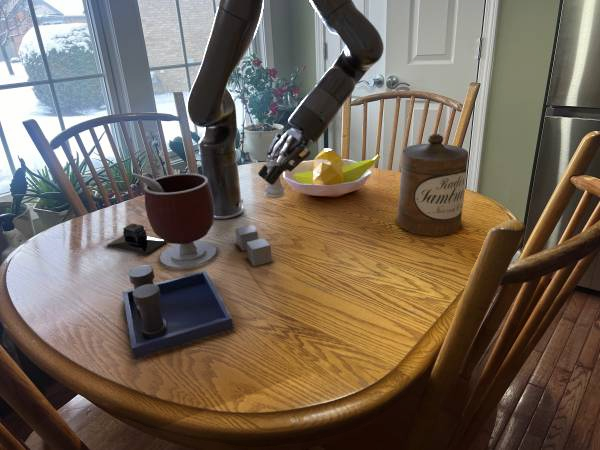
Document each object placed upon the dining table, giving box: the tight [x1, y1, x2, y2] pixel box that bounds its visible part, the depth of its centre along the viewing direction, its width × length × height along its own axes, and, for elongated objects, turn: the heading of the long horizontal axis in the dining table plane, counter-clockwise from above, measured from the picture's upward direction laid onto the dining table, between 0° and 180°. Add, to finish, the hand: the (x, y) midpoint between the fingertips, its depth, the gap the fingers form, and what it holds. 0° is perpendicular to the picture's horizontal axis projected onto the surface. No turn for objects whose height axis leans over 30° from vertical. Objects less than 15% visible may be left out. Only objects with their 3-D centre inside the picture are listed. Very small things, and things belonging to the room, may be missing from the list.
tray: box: [121, 270, 234, 360], centre depth 76 cm, size 18×16×3 cm
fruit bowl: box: [282, 148, 381, 198], centre depth 130 cm, size 28×27×11 cm
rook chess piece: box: [264, 158, 286, 200], centre depth 93 cm, size 4×4×8 cm
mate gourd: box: [130, 172, 217, 268], centre depth 93 cm, size 16×14×20 cm
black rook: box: [128, 264, 161, 315], centre depth 76 cm, size 4×4×8 cm
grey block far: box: [234, 224, 259, 252], centre depth 100 cm, size 4×4×4 cm
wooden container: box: [397, 133, 469, 237], centre depth 103 cm, size 15×15×22 cm
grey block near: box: [246, 237, 273, 267], centre depth 93 cm, size 4×4×4 cm
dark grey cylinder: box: [133, 283, 168, 340], centre depth 70 cm, size 4×4×8 cm
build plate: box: [106, 223, 167, 256], centre depth 103 cm, size 12×7×5 cm, turn 65°
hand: (265, 179), depth 92 cm, fingers closed on rook chess piece, 3 cm apart
